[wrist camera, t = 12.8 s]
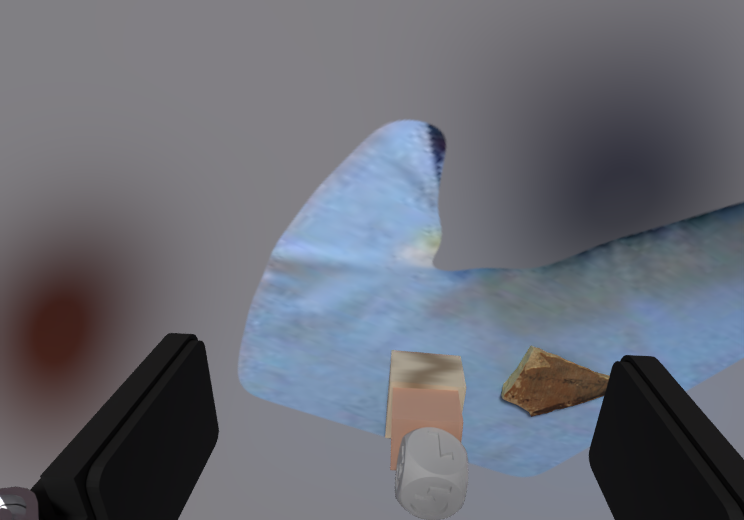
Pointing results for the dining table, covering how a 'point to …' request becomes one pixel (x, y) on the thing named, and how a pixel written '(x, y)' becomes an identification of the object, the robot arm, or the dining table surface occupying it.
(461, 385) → the tower base
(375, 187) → the dining table surface
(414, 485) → the die
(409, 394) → the tower top
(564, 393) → the shard
